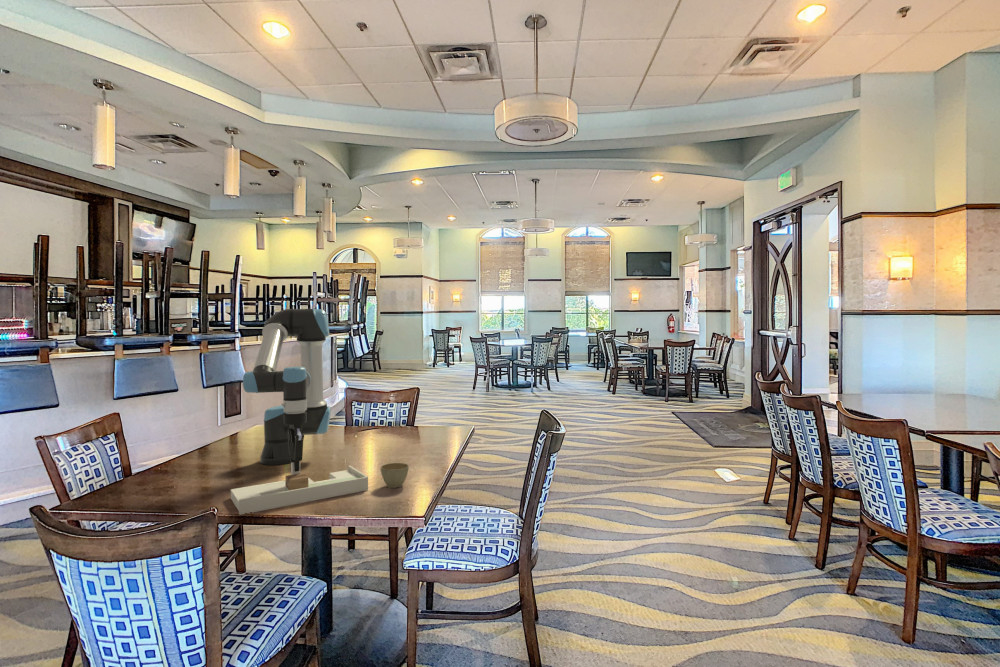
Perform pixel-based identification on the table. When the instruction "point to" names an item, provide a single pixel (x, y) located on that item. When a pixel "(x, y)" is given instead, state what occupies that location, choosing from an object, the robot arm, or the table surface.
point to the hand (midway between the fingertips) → (295, 479)
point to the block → (296, 481)
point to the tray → (297, 491)
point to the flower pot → (394, 474)
